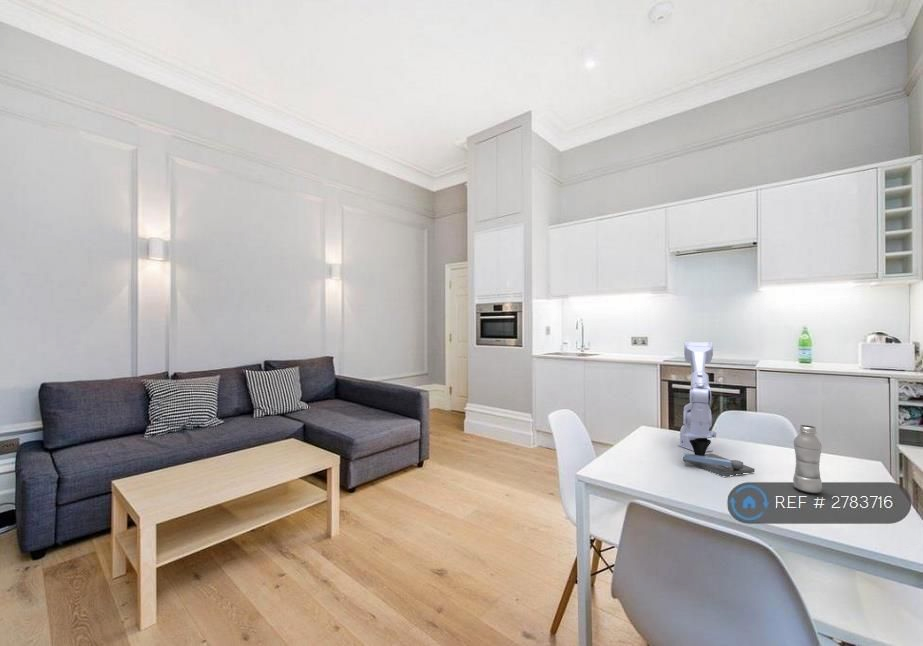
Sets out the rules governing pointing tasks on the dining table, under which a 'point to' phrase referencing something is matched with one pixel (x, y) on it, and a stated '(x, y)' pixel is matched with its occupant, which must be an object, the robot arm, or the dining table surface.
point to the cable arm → (714, 461)
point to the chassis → (720, 467)
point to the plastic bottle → (807, 460)
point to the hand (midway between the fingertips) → (699, 458)
